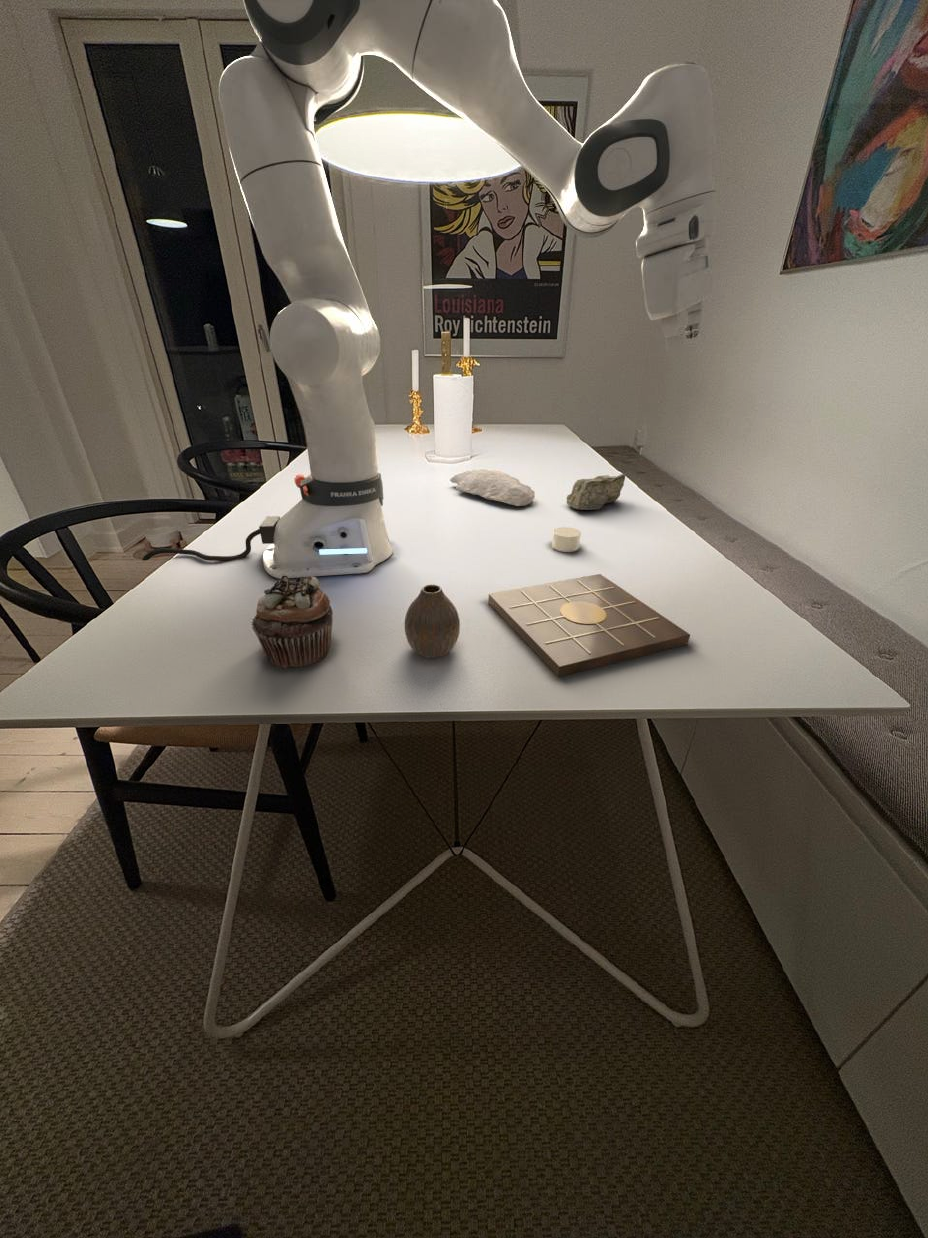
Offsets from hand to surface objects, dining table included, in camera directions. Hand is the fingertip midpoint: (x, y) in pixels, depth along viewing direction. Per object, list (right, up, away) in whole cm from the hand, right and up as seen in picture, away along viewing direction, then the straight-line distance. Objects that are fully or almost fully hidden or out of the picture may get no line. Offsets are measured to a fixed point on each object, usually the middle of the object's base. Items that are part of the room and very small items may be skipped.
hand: (684, 343), depth 76 cm
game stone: (-14, -27, +21) cm, 37 cm away
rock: (-3, -14, +44) cm, 46 cm away
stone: (-25, -10, +50) cm, 57 cm away
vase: (-37, -45, -10) cm, 59 cm away
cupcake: (-54, -45, -10) cm, 71 cm away
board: (-16, -41, -3) cm, 44 cm away
